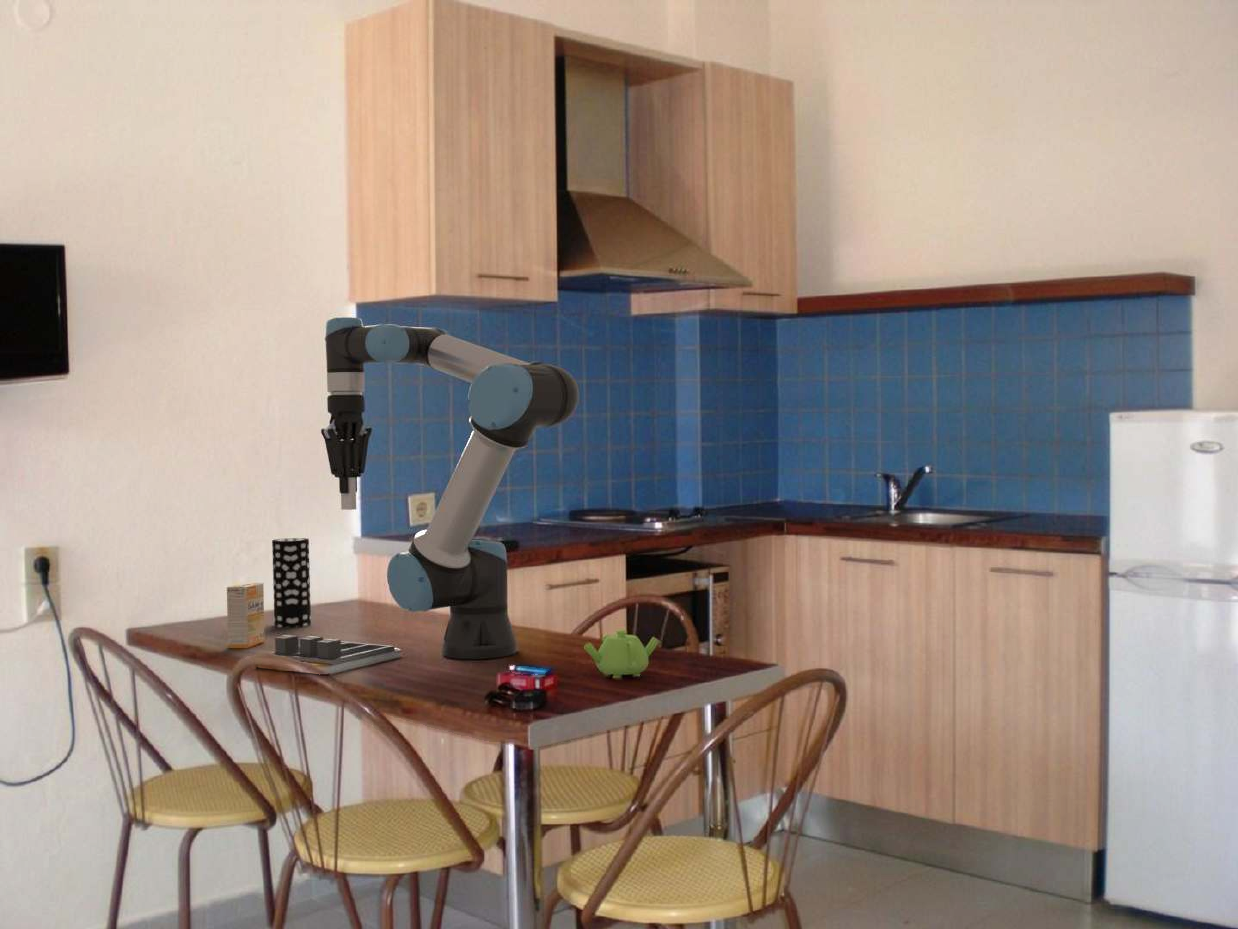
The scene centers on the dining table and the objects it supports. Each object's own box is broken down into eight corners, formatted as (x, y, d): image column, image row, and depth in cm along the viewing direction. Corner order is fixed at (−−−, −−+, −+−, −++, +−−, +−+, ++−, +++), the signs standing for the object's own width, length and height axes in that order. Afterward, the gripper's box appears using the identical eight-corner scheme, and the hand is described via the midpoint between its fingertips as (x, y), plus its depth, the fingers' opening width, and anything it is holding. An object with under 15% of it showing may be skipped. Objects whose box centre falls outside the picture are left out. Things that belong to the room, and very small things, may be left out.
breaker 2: (341, 660, 265) (340, 638, 265) (328, 663, 262) (327, 641, 262) (330, 659, 266) (330, 637, 266) (317, 662, 263) (317, 640, 263)
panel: (401, 657, 277) (401, 644, 277) (325, 675, 258) (324, 662, 258) (334, 650, 286) (333, 638, 286) (255, 668, 267) (255, 655, 267)
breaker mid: (323, 657, 268) (322, 636, 268) (310, 660, 265) (309, 638, 265) (313, 656, 270) (312, 635, 270) (300, 659, 267) (299, 637, 267)
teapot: (640, 684, 245) (639, 636, 244) (580, 680, 249) (579, 633, 249) (661, 672, 255) (661, 627, 255) (604, 669, 259) (603, 624, 259)
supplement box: (248, 649, 290) (246, 586, 290) (227, 648, 291) (225, 586, 291) (266, 642, 298) (264, 582, 298) (245, 642, 299) (243, 581, 299)
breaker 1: (298, 656, 270) (298, 634, 270) (285, 659, 267) (284, 637, 267) (289, 655, 272) (288, 634, 272) (275, 658, 269) (275, 636, 268)
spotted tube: (318, 623, 324) (316, 538, 324) (292, 628, 317) (290, 541, 317) (293, 621, 329) (290, 537, 328) (266, 626, 322) (264, 540, 321)
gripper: (353, 394, 289) (356, 507, 290) (309, 394, 278) (312, 511, 279) (381, 393, 285) (383, 507, 286) (337, 393, 274) (340, 512, 275)
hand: (348, 509), depth 282 cm, fingers closed
